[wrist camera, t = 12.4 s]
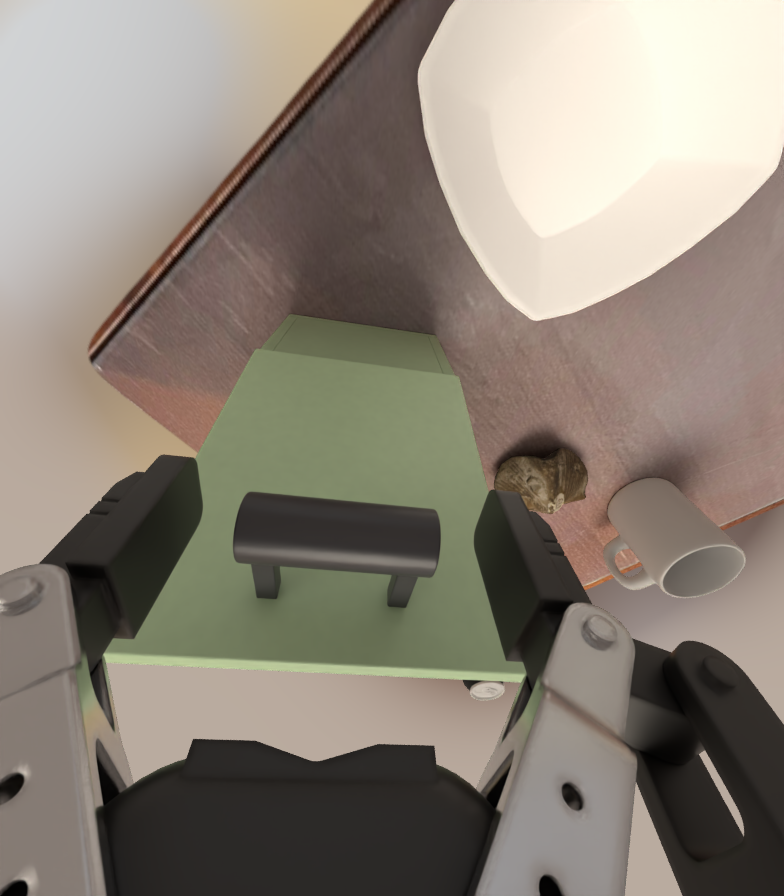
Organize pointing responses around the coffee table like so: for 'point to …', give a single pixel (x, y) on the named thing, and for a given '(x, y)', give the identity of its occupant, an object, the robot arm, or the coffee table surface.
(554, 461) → the fossilized seashell
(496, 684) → the beverage can
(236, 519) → the lid
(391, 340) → the chest
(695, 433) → the coffee table surface
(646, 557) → the mug
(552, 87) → the bowl
